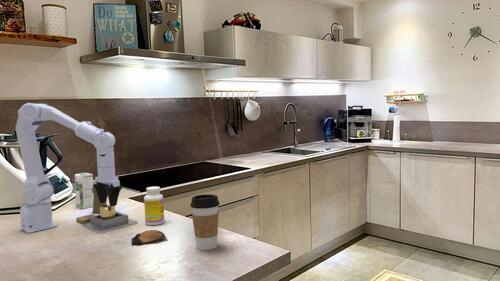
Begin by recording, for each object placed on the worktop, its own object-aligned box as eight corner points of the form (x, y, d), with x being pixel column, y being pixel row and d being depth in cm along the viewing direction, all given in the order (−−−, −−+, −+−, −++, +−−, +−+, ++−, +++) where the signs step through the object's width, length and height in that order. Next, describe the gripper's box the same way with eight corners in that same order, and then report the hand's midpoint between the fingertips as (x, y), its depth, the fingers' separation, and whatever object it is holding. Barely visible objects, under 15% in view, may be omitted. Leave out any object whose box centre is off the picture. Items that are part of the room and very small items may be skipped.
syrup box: (75, 207, 159) (73, 174, 158) (89, 204, 164) (87, 172, 163) (81, 209, 155) (79, 175, 154) (95, 206, 160) (93, 173, 159)
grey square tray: (99, 233, 122) (99, 224, 122) (81, 225, 132) (81, 217, 132) (137, 223, 133) (137, 214, 132) (118, 216, 142) (117, 208, 142)
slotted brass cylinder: (118, 222, 132) (117, 205, 132) (105, 226, 128) (104, 208, 128) (110, 220, 135) (109, 203, 135) (98, 223, 131) (97, 206, 131)
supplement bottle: (163, 225, 129) (161, 189, 128) (144, 226, 128) (142, 190, 127) (165, 219, 136) (163, 185, 135) (146, 221, 135) (144, 186, 134)
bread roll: (164, 235, 120) (164, 224, 120) (168, 243, 112) (168, 231, 112) (130, 240, 116) (129, 228, 116) (132, 249, 109) (131, 237, 108)
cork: (103, 209, 154) (102, 183, 154) (111, 211, 150) (109, 184, 150) (89, 212, 150) (87, 185, 149) (96, 214, 146) (94, 187, 145)
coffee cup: (196, 254, 101) (194, 200, 100) (189, 244, 109) (186, 194, 108) (225, 248, 105) (223, 196, 103) (216, 239, 112) (214, 191, 111)
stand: (83, 224, 133) (83, 220, 133) (76, 221, 137) (76, 217, 137) (99, 220, 138) (99, 216, 137) (92, 217, 142) (92, 214, 142)
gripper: (126, 166, 129) (128, 204, 130) (107, 163, 138) (109, 199, 139) (107, 169, 123) (109, 209, 124) (88, 166, 133) (90, 202, 134)
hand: (108, 204), depth 132 cm, fingers open, 7 cm apart
